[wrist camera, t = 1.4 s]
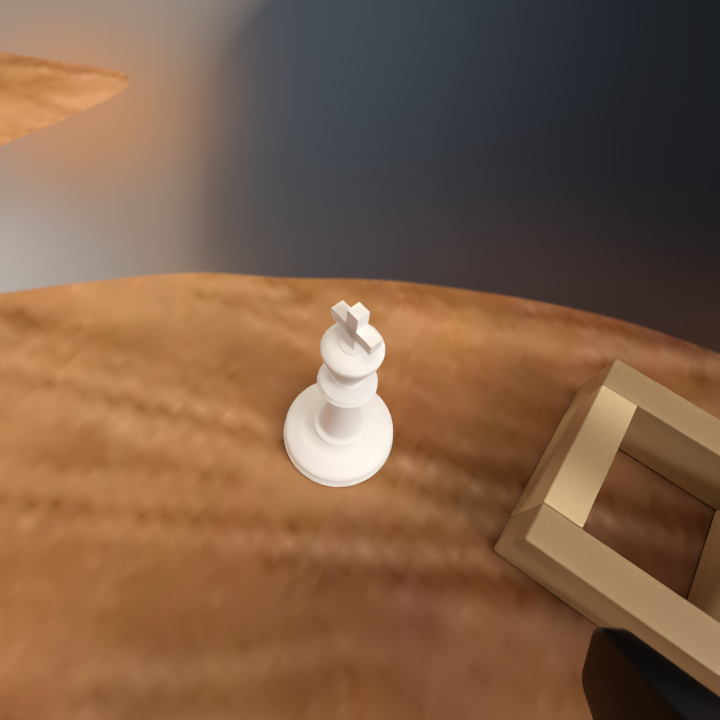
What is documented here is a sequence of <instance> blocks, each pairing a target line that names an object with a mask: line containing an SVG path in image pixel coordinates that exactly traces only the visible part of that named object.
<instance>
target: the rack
mask: <svg viewBox="0 0 720 720" xmlns="http://www.w3.org/2000/svg"><path fill="white" fill-rule="evenodd" d="M618 448H619V449H621V450H622V451H624V452H625V453H627V454H628V455H630V456H632V457H633V458H635V459H636V460H638V461H640V462H641V463H643V464H644V465H646V466H647V467H649V468H651V469H652V470H654V471H655V472H657V473H658V474H660V475H662V476H663V477H665V478H666V479H668V480H669V481H671V482H673V483H674V484H676V485H677V486H679V487H680V488H682V489H684V490H685V491H687V492H688V493H690V494H691V495H693V496H695V497H696V498H698V499H699V500H701V501H703V502H704V503H706V504H707V505H709V506H710V507H712V508H714V509H715V510H716V511H715V514H714V517H713V520H712V524H711V527H710V530H709V533H708V536H707V539H706V542H705V546H704V549H703V552H702V555H701V558H700V561H699V564H698V567H697V571H696V574H695V577H694V580H693V583H692V586H691V589H690V593H689V596H688V599H687V600H685V599H684V598H682V597H681V596H679V595H678V594H677V593H675V592H674V591H672V590H671V589H669V588H668V587H666V586H665V585H663V584H662V583H660V582H659V581H657V580H656V579H655V578H653V577H652V576H650V575H649V574H647V573H646V572H644V571H643V570H641V569H640V568H638V567H637V566H635V565H634V564H633V563H631V562H630V561H628V560H627V559H625V558H624V557H622V556H621V555H619V554H618V553H616V552H615V551H613V550H612V549H611V548H609V547H608V546H606V545H605V544H603V543H602V542H600V541H599V540H597V539H596V538H594V537H593V536H591V535H590V534H589V533H587V532H586V531H584V530H583V529H581V528H582V527H583V525H584V523H585V521H586V519H587V516H588V514H589V512H590V510H591V508H592V505H593V503H594V501H595V499H596V497H597V494H598V492H599V490H600V488H601V485H602V483H603V481H604V479H605V477H606V474H607V472H608V470H609V468H610V465H611V463H612V461H613V459H614V457H615V454H616V452H617V450H618ZM493 550H494V552H496V553H497V554H499V555H500V556H501V557H503V558H504V559H506V560H507V561H508V562H510V563H511V564H512V565H514V566H515V567H517V568H518V569H519V570H521V571H522V572H524V573H525V574H526V575H528V576H529V577H530V578H532V579H533V580H535V581H536V582H537V583H539V584H540V585H542V586H543V587H544V588H546V589H547V590H549V591H550V592H551V593H553V594H554V595H555V596H557V597H558V598H560V599H561V600H562V601H564V602H565V603H567V604H568V605H569V606H571V607H572V608H573V609H575V610H576V611H578V612H579V613H580V614H582V615H583V616H585V617H586V618H587V619H589V620H590V621H592V622H593V623H594V624H596V625H597V626H598V627H601V626H604V627H617V628H624V629H627V630H629V631H631V632H632V633H633V634H635V635H636V636H637V637H639V638H640V639H642V640H643V641H644V642H646V643H647V644H648V645H650V646H651V647H653V648H654V649H655V650H657V651H658V652H659V653H661V654H662V655H663V656H665V657H666V658H668V659H669V660H670V661H672V662H673V663H674V664H676V665H677V666H679V667H680V668H681V669H683V670H684V671H685V672H687V673H688V674H689V675H691V676H692V677H694V678H695V679H696V680H698V681H699V682H700V683H702V684H703V685H705V686H706V687H707V688H709V689H710V690H711V691H713V692H714V693H715V694H717V695H718V696H720V420H719V419H717V418H716V417H714V416H712V415H711V414H709V413H707V412H706V411H704V410H702V409H701V408H699V407H697V406H696V405H694V404H692V403H691V402H689V401H687V400H686V399H684V398H682V397H680V396H679V395H677V394H675V393H674V392H672V391H670V390H669V389H667V388H665V387H664V386H662V385H660V384H659V383H657V382H655V381H654V380H652V379H650V378H649V377H647V376H645V375H644V374H642V373H640V372H638V371H637V370H635V369H633V368H632V367H630V366H628V365H627V364H625V363H623V362H622V361H620V360H618V359H614V360H613V361H612V362H611V363H610V364H608V365H607V366H606V367H605V368H604V369H602V370H601V371H600V372H599V373H598V374H596V375H595V376H594V377H593V378H592V379H590V380H589V381H588V382H587V383H586V384H584V385H583V386H582V387H581V388H580V389H578V390H577V392H576V394H575V395H574V397H573V399H572V401H571V403H570V405H569V407H568V409H567V410H566V412H565V414H564V416H563V418H562V420H561V422H560V424H559V425H558V427H557V429H556V431H555V433H554V435H553V437H552V439H551V440H550V442H549V444H548V446H547V448H546V450H545V452H544V454H543V456H542V457H541V459H540V461H539V463H538V465H537V467H536V469H535V471H534V472H533V474H532V476H531V478H530V480H529V482H528V484H527V486H526V487H525V489H524V491H523V493H522V495H521V497H520V499H519V501H518V503H517V504H516V506H515V508H514V510H513V512H512V514H511V516H510V519H509V520H508V522H507V524H506V525H505V527H504V529H503V531H502V533H501V535H500V537H499V539H498V541H497V542H496V544H495V546H494V548H493Z"/></svg>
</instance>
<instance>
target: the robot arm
mask: <svg viewBox="0 0 720 720" xmlns="http://www.w3.org/2000/svg"><path fill="white" fill-rule="evenodd" d="M582 684H583V689H584V693H585V696H586V699H587V702H588V705H589V708H590V711H591V714H592V717H593V720H720V696H718V695H717V694H715V693H714V692H713V691H711V690H710V689H709V688H707V687H706V686H705V685H703V684H702V683H700V682H699V681H698V680H696V679H695V678H694V677H692V676H691V675H689V674H688V673H687V672H685V671H684V670H683V669H681V668H680V667H679V666H677V665H676V664H674V663H673V662H672V661H670V660H669V659H668V658H666V657H665V656H663V655H662V654H661V653H659V652H658V651H657V650H655V649H654V648H653V647H651V646H650V645H648V644H647V643H646V642H644V641H643V640H642V639H640V638H639V637H637V636H636V635H635V634H633V633H632V632H631V631H629V630H627V629H624V628H617V627H604V626H601V627H598V628H596V629H595V631H594V632H593V634H592V638H591V641H590V645H589V649H588V652H587V656H586V660H585V663H584V667H583V672H582Z"/></svg>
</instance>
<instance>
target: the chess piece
mask: <svg viewBox="0 0 720 720" xmlns="http://www.w3.org/2000/svg"><path fill="white" fill-rule="evenodd" d="M369 315H370V312H369V311H368V310H367V309H366V308H365V307H364V306H363V305H362V304H361V303H360V302H358V303H357V304H356V305H354V306H353V307H351V308H350V307H349V306H348V305H347V304H346V303H345V302H344V301H343V300H342V301H341V302H339V303H338V304H336V305H335V306H333V307H332V308H331V317H332V318H333V319H334V320H335V321H336V322H337V323H336V324H334V325H332V326H331V327H330V328H329V329H328V330H327V331H326V332H325V333H324V335H323V337H322V340H321V344H320V352H321V356H322V359H323V361H324V363H323V365H322V366H321V368H320V369H319V372H318V375H317V383H315V384H313V385H311V386H310V387H308V388H307V389H305V390H304V391H303V392H302V393H300V394H299V395H298V397H297V398H296V399H295V400H294V402H293V403H292V405H291V407H290V409H289V411H288V413H287V417H286V420H285V424H284V433H283V435H284V444H285V448H286V451H287V454H288V456H289V458H290V460H291V461H292V463H293V464H294V466H295V467H296V468H297V469H298V470H299V471H300V472H301V473H302V474H303V475H304V476H306V477H307V478H309V479H311V480H312V481H314V482H317V483H319V484H322V485H326V486H331V487H346V486H352V485H355V484H358V483H361V482H363V481H365V480H367V479H369V478H370V477H372V476H373V475H374V474H375V473H376V472H377V471H378V470H379V469H380V468H381V467H382V466H383V464H384V463H385V461H386V460H387V458H388V456H389V453H390V450H391V447H392V441H393V424H392V419H391V415H390V413H389V410H388V408H387V406H386V405H385V403H384V402H383V400H382V399H381V398H380V397H379V396H378V395H377V394H376V393H375V392H376V389H377V384H378V380H377V375H376V372H375V371H376V370H377V369H378V368H379V366H380V365H381V363H382V361H383V359H384V356H385V344H384V341H383V338H382V336H381V335H380V333H379V332H378V331H377V330H376V329H375V328H374V327H373V326H371V325H370V324H368V320H369Z"/></svg>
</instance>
